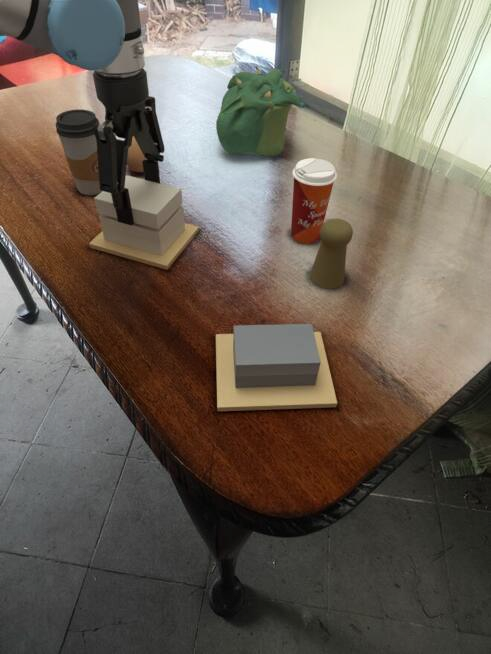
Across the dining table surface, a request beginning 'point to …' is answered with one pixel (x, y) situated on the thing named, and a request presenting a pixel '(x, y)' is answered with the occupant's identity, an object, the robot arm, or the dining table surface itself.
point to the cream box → (146, 239)
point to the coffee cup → (80, 148)
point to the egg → (135, 157)
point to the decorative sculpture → (255, 113)
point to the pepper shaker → (331, 254)
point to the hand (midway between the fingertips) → (140, 208)
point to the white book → (144, 202)
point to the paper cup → (311, 198)
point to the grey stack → (272, 368)
